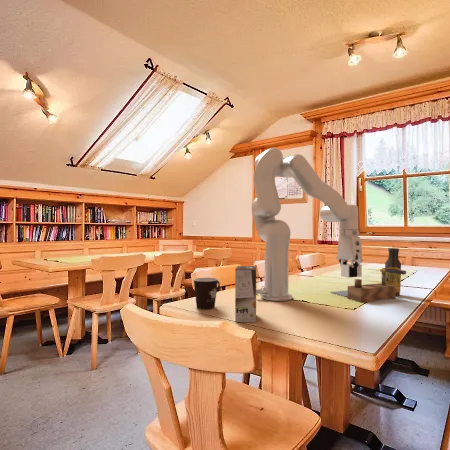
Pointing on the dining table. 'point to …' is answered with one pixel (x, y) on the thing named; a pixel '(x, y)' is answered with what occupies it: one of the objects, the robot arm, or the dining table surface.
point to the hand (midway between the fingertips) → (349, 275)
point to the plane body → (371, 291)
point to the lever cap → (346, 270)
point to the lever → (393, 271)
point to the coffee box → (245, 294)
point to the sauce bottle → (393, 264)
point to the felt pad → (341, 293)
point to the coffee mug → (206, 292)
